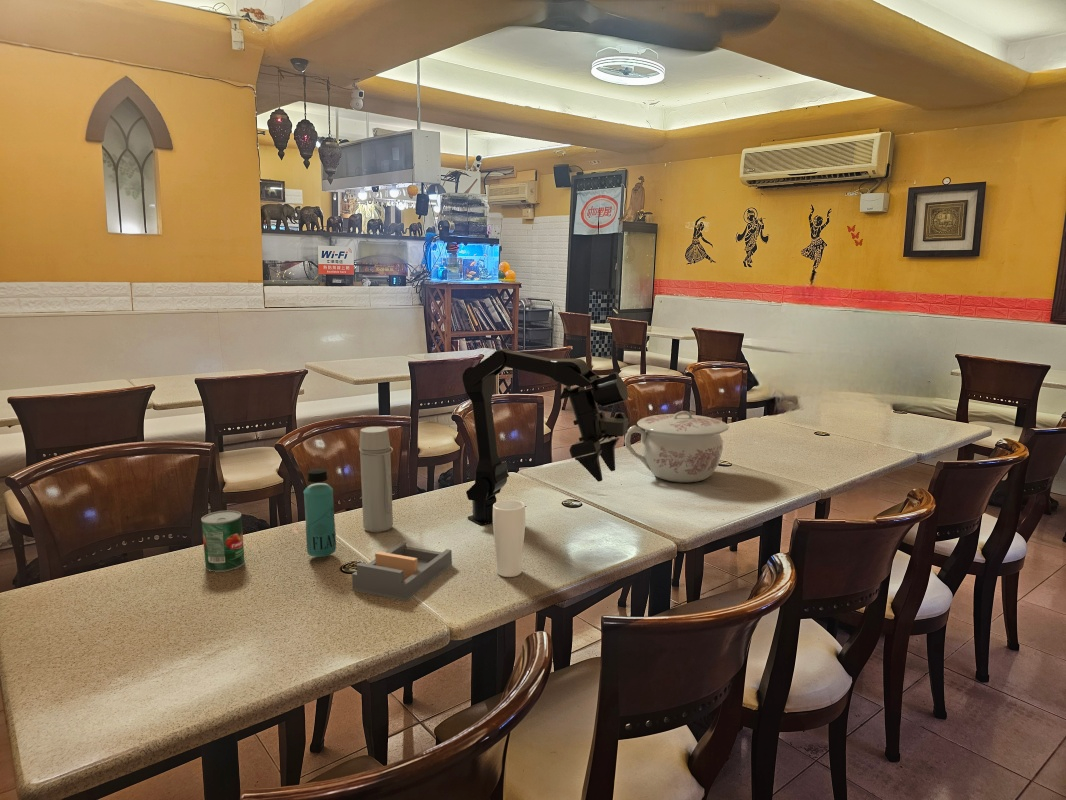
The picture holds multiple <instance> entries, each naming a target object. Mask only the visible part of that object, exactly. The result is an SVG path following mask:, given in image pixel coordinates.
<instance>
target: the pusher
mask: <svg viewBox="0 0 1066 800" xmlns="http://www.w3.org/2000/svg"><path fill="white" fill-rule="evenodd" d="M385 552H386V551H385ZM385 552H384V551H377V552H375V555H374V556H375V557H374V558H375V559H376V566H381V567H387V568H392V569H398V570H403V571H404V580H406V579H407V578H408V577H410V576H411V575H412V574H414V573H415V572H416V571H418V561H417V558H414V557H408V556H402V555H396V554H391V553H385Z"/></svg>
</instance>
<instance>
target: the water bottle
mask: <svg viewBox="0 0 1066 800" xmlns="http://www.w3.org/2000/svg"><path fill="white" fill-rule="evenodd" d="M389 433H390V432H389V429H388V427H385V426H369V427H363V428H361V429H360V430H359V446H358V447H359V448H358V450H359V452H360V453H359V458H360V478H361V479H360V480H361V481H360V482H361V499H362V504H361V506H362V523H363V524H362V525H363V528H364V529H365V531H367V532H369V531H370V533H382V532H381V531H383V532H386V531H388V530H390V529H392V527H393V525H394V517H393V515H394V514H393V490H392V489H393V488H392V465H391V464H392V463H391V457H392V456H391V454H392V452H393V451H394V448H393V447H392V446H391V441H390V434H389Z"/></svg>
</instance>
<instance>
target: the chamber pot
mask: <svg viewBox="0 0 1066 800" xmlns="http://www.w3.org/2000/svg"><path fill="white" fill-rule="evenodd" d="M636 424H637V425H636ZM636 424H635V425H632V426H630V427H628V433H625V434H624V445H625V448H626V449H627V450H628V452H629V453H630V454H631V455H632V456H634V457H635V458H636V459H638V460H639V461H640V462H641V463H642V464H644V466H645V467H646V468H647V469H648V470H649V471H650V473H651V474H653V475H654V476H655V477H656V478H659V479H661V480H663V481H667V482H671V483H678V484H680V483H681V484H691V483H696V482H700V481H704V480H706V479H708V478H710V476H712V474H713V472H714V471H715V470H716V469H717V467H718V466H719V464H720V463H721V458H722V454H723V450H724V440H723V439H722V436H721V434H723V433H725V432H727V431H728V430H729V428H730V426H729V425H728V423H726V422H725V421H722V420H719V419H717V418H714V417H710V416H709V417H708V416H705V415H704V416H703V415H695V414H692V413H691V412H690V411H687V410H681V411H677V412H676V413H666V414H665V413H664V414H657V415H656V414H655V415H650V416H646V417H643V418H640V419H639V420H638V421H637V422H636ZM634 433H636V434H638V433H639V434H640V435H641V437H640V447H641V452H642V453H641V454H639V453H638V452H636V450H635V449H634V448H633V447H632V445H631V438H632V434H634Z"/></svg>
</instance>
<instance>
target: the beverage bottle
mask: <svg viewBox="0 0 1066 800" xmlns="http://www.w3.org/2000/svg"><path fill="white" fill-rule="evenodd" d="M327 480H328V471H327V470H326V469H325V468H324V469H323V468H317V469H316V468H314V469H310V470H309V471H308V472H307V481H308V482H309V483H311V484H309V485H308V486H307V487H305V489H304V490H303V499H304V500H303V501H304V516H305V518H304V519H305V542H306V552H307V554H308V555H309V556H311V557H315V558H316V557H317V558H318V557H319V558H321V557H326V556H330V555H332V554H334V553H335V552H336V549H337V538H336V534H337V533H336V532H337V531H336V523H335V520H336V518H335V513H336V511H335V510H336V509H335V503H334V502H335V500H334V488H333V487H332V486H331V485H329V484H328V483H325V482H326V481H327Z"/></svg>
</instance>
